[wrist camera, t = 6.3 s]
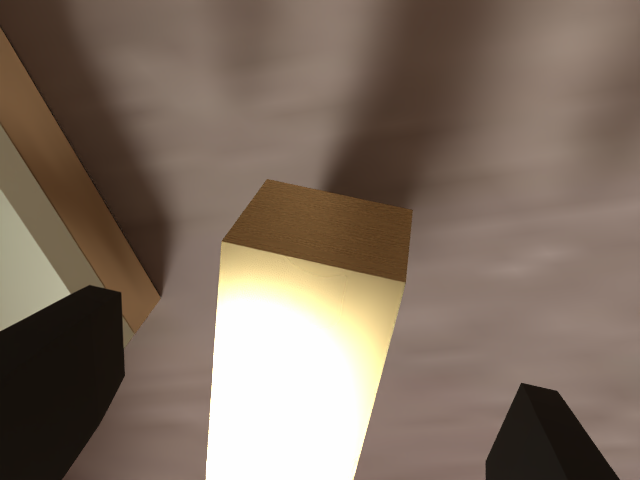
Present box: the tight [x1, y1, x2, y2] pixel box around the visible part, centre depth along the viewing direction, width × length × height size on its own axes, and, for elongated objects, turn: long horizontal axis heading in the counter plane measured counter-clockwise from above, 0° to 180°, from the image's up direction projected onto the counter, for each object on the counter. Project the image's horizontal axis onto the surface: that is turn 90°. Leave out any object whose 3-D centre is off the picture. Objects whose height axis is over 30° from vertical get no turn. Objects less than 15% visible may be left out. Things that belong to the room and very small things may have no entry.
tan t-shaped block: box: [206, 179, 413, 480], centre depth 11 cm, size 2×7×7 cm, turn 172°
